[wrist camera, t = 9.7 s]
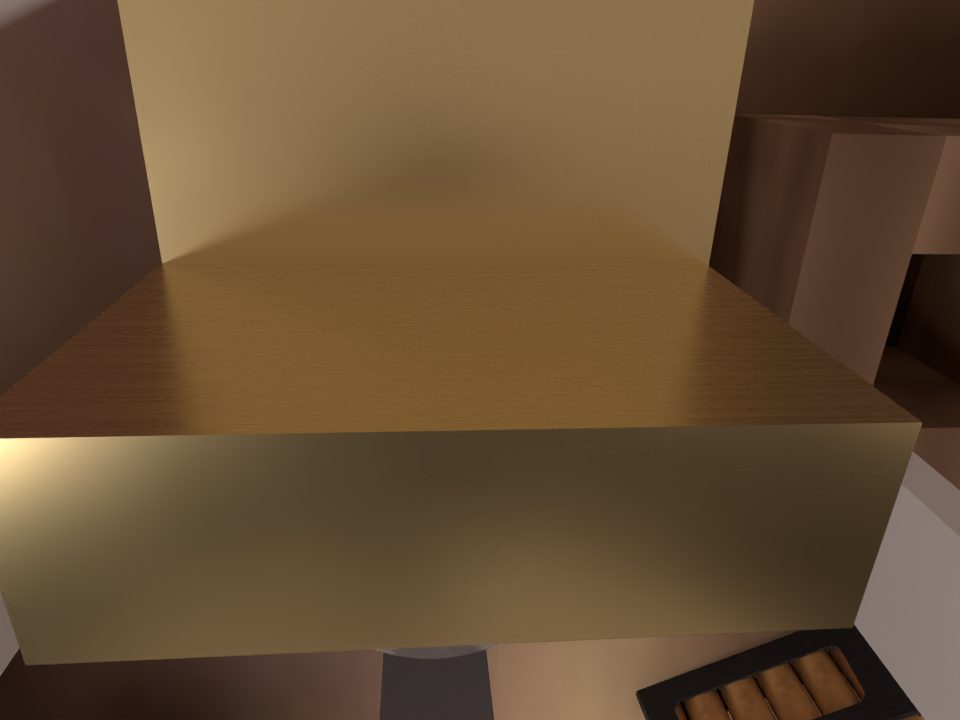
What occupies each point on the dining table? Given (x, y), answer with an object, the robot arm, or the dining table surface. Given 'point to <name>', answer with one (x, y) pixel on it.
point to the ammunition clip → (786, 683)
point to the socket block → (436, 688)
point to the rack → (855, 250)
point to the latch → (436, 353)
